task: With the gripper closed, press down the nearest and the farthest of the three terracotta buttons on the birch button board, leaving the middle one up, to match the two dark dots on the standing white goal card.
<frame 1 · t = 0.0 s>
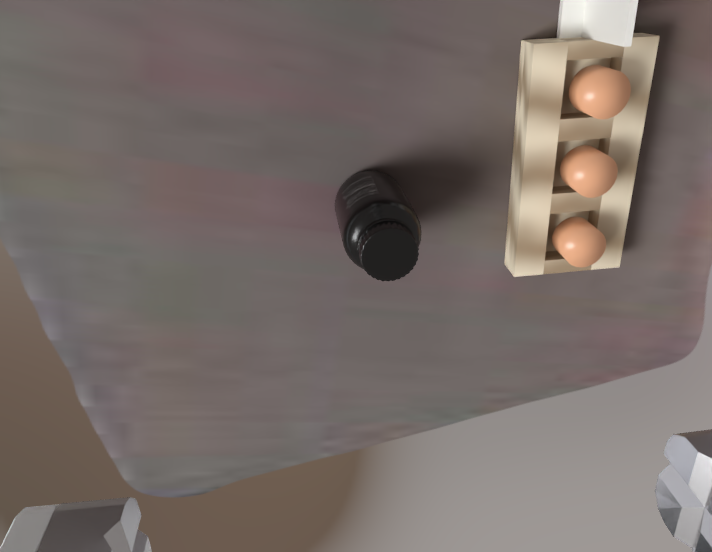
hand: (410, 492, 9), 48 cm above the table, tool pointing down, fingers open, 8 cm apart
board: (567, 157, 58), on the table
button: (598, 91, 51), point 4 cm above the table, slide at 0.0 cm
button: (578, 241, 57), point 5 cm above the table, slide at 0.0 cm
button mid: (588, 171, 54), point 4 cm above the table, slide at 0.0 cm
supplement bottle: (369, 202, 58), on the table
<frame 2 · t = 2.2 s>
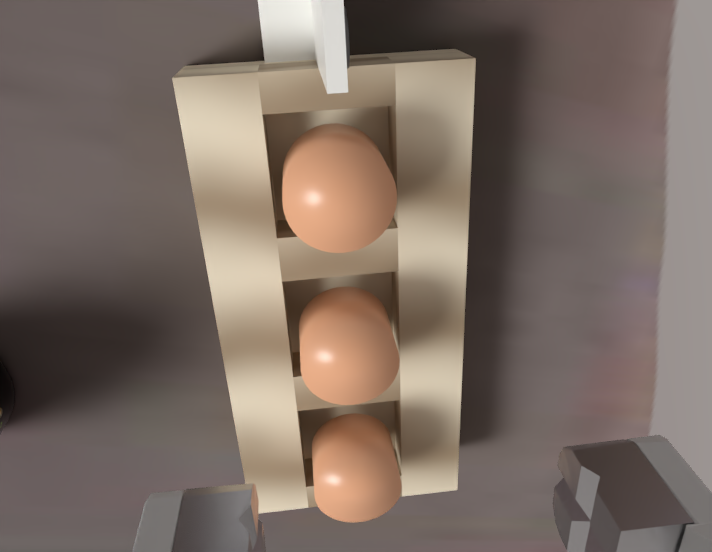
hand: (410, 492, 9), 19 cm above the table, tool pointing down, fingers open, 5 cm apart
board: (338, 293, 29), on the table
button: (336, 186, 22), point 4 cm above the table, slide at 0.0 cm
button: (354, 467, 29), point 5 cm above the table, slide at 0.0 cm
button mid: (347, 344, 25), point 4 cm above the table, slide at 0.0 cm
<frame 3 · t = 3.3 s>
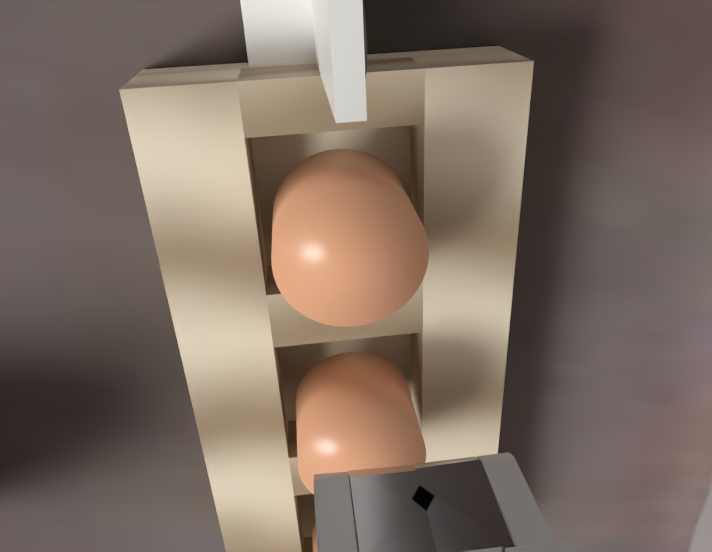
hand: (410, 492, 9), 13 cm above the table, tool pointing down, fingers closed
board: (344, 348, 24), on the table
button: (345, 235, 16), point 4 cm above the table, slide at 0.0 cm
button mid: (357, 427, 20), point 4 cm above the table, slide at 0.0 cm
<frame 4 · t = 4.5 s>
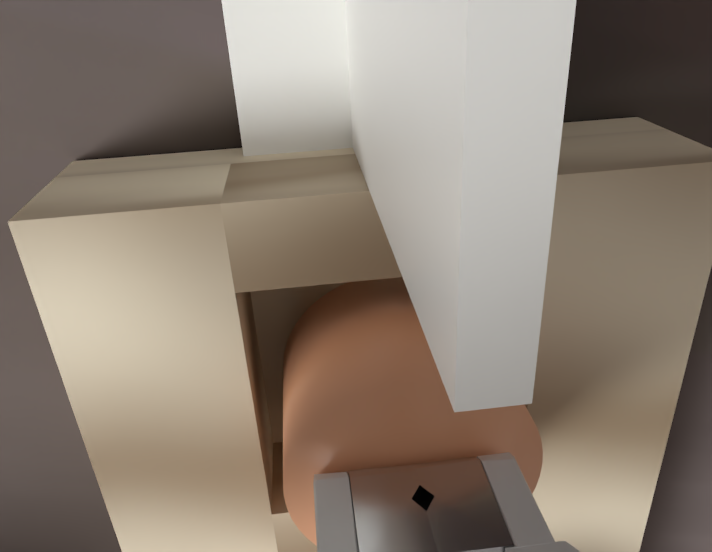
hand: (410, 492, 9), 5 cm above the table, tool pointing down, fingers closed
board: (382, 529, 17), on the table
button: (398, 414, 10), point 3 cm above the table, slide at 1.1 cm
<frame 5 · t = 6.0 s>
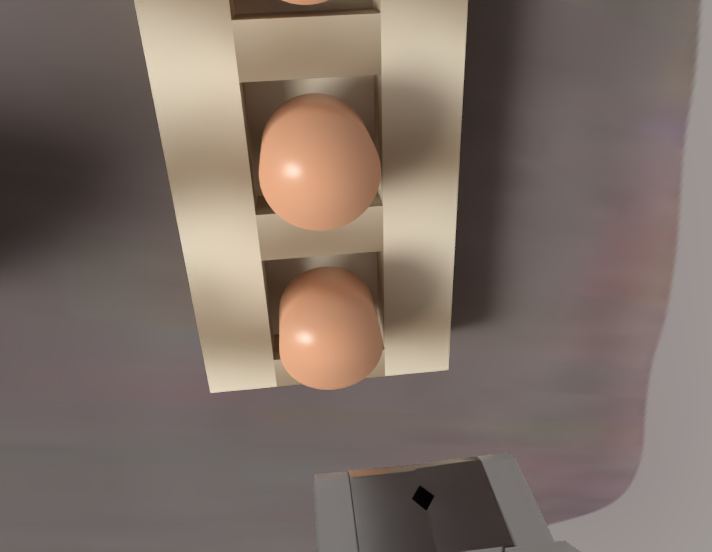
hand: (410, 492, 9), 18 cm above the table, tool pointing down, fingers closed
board: (311, 126, 25), on the table
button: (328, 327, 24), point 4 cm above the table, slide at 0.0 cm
button mid: (317, 160, 21), point 4 cm above the table, slide at 0.0 cm
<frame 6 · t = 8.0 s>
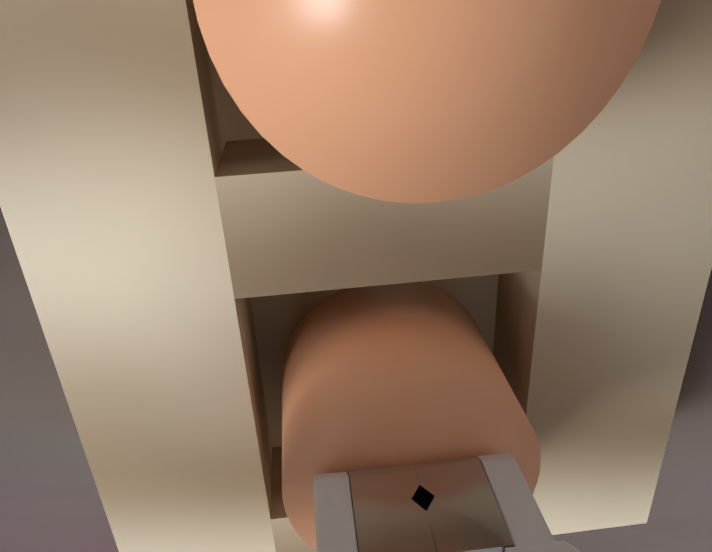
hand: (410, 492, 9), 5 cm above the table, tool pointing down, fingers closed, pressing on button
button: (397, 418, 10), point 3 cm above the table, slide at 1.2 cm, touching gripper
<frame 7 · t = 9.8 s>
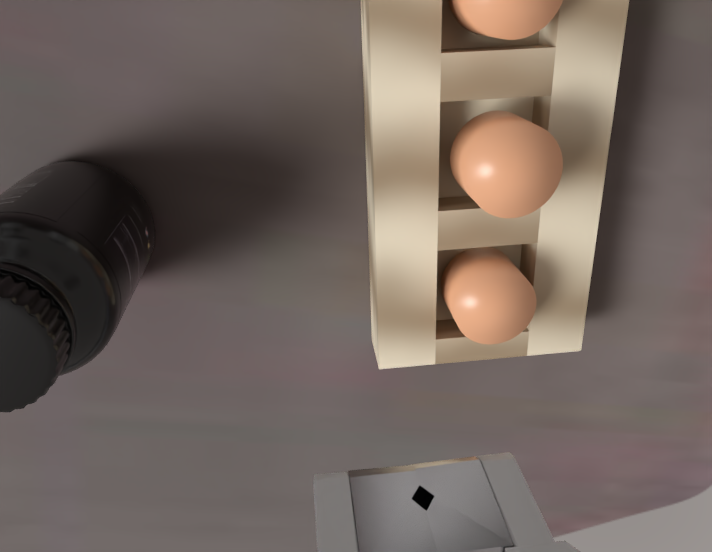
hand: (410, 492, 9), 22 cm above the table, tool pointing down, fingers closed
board: (474, 141, 30), on the table
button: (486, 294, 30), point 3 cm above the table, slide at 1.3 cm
button mid: (503, 163, 26), point 4 cm above the table, slide at 0.0 cm
supplement bottle: (89, 224, 30), on the table
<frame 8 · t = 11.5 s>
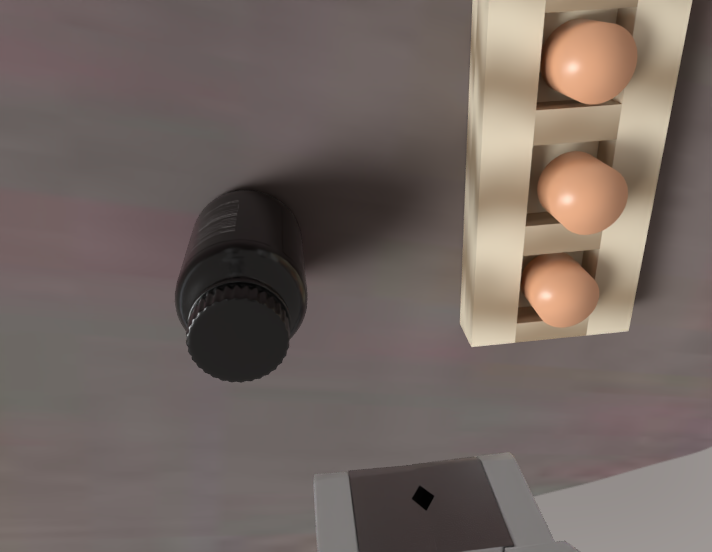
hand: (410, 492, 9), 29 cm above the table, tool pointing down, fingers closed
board: (550, 169, 38), on the table
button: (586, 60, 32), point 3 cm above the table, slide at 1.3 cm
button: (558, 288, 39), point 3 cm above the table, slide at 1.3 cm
button mid: (580, 192, 34), point 4 cm above the table, slide at 0.0 cm
supplement bottle: (249, 236, 38), on the table
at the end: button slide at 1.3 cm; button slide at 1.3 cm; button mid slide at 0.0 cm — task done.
